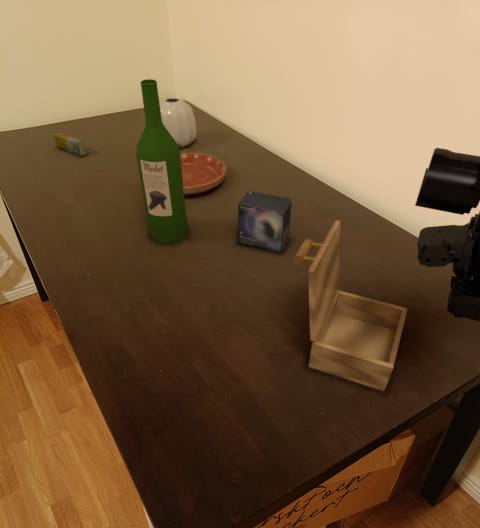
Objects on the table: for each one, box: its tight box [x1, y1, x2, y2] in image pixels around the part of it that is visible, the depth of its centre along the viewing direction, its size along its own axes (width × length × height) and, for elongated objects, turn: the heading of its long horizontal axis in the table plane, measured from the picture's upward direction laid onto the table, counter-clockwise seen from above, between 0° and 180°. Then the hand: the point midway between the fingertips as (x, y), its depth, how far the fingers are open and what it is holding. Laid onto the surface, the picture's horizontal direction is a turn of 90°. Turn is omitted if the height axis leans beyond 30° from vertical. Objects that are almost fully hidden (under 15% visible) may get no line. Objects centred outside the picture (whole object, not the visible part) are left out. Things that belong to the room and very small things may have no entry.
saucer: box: [180, 152, 227, 196], centre depth 120 cm, size 23×23×4 cm
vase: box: [159, 96, 197, 149], centre depth 136 cm, size 14×14×13 cm
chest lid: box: [293, 219, 341, 343], centre depth 69 cm, size 13×15×5 cm
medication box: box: [53, 132, 87, 157], centre depth 135 cm, size 12×3×4 cm, turn 54°
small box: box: [237, 190, 293, 254], centre depth 95 cm, size 11×6×10 cm, turn 68°
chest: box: [307, 289, 408, 392], centre depth 73 cm, size 13×15×6 cm
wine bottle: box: [135, 78, 189, 244], centre depth 90 cm, size 9×9×32 cm
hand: (457, 315), depth 62 cm, fingers closed
